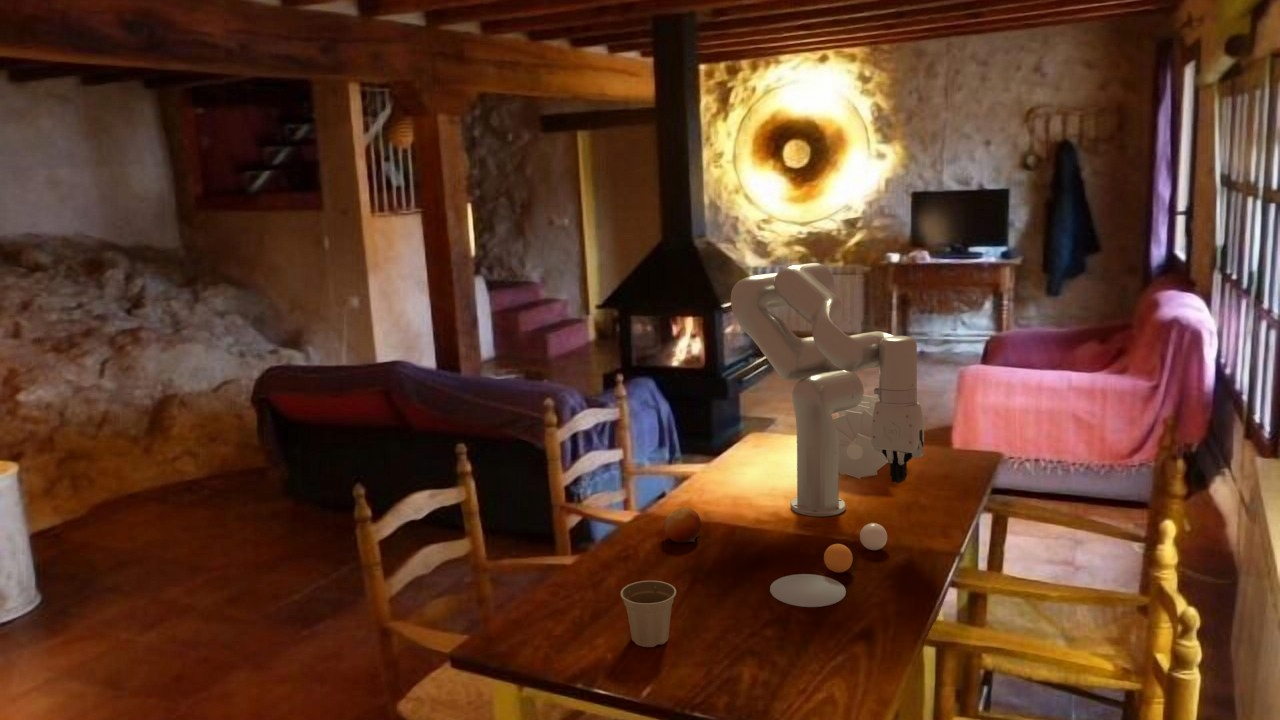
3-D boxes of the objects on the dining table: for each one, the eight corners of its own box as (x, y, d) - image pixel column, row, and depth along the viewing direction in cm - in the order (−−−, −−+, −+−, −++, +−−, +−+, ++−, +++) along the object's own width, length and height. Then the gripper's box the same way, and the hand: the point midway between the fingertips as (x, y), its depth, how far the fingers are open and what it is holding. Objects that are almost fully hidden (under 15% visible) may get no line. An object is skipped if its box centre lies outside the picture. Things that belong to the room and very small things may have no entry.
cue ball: (860, 543, 200) (860, 518, 199) (887, 545, 199) (888, 520, 198) (858, 553, 195) (858, 527, 194) (886, 555, 194) (886, 529, 192)
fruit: (707, 540, 201) (686, 509, 201) (676, 557, 203) (655, 526, 203) (711, 526, 209) (692, 496, 208) (681, 543, 211) (662, 513, 210)
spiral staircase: (837, 494, 243) (857, 462, 265) (901, 472, 234) (917, 440, 256) (805, 430, 242) (829, 403, 264) (869, 406, 234) (887, 379, 256)
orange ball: (825, 564, 190) (825, 538, 189) (853, 566, 189) (853, 540, 188) (822, 575, 185) (822, 549, 184) (851, 578, 183) (851, 551, 182)
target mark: (776, 572, 187) (776, 571, 187) (849, 578, 183) (849, 577, 183) (764, 602, 174) (764, 601, 174) (842, 610, 170) (842, 609, 170)
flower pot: (620, 628, 167) (618, 582, 165) (674, 624, 167) (672, 578, 166) (624, 654, 158) (622, 605, 156) (681, 650, 158) (679, 601, 157)
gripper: (856, 395, 200) (857, 479, 203) (923, 403, 190) (923, 491, 193) (874, 389, 206) (875, 471, 209) (940, 396, 196) (940, 482, 199)
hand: (898, 480), depth 201 cm, fingers closed
